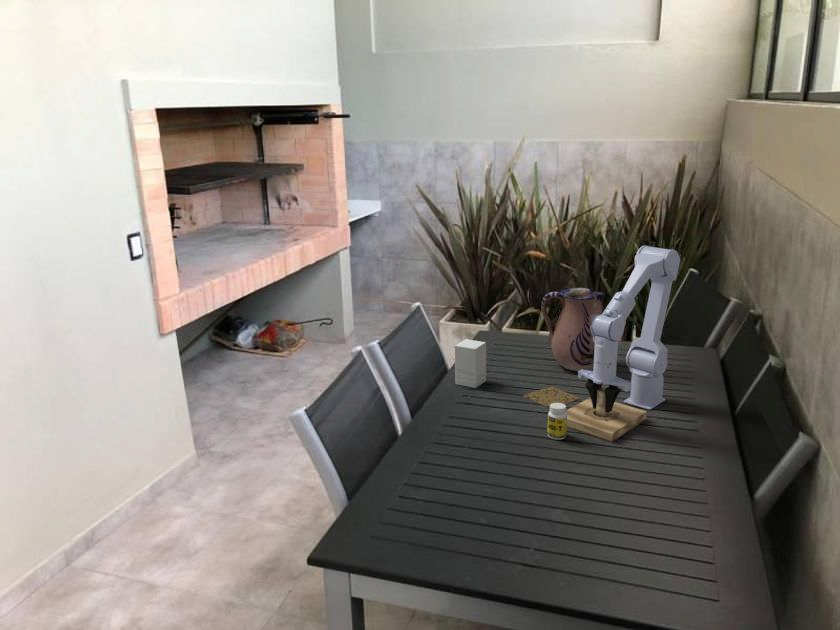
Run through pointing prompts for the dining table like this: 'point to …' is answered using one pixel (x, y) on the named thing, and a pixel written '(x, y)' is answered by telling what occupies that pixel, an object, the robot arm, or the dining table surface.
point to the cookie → (551, 396)
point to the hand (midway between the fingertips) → (602, 409)
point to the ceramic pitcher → (574, 327)
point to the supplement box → (470, 363)
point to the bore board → (604, 420)
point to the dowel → (601, 403)
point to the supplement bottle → (557, 421)
